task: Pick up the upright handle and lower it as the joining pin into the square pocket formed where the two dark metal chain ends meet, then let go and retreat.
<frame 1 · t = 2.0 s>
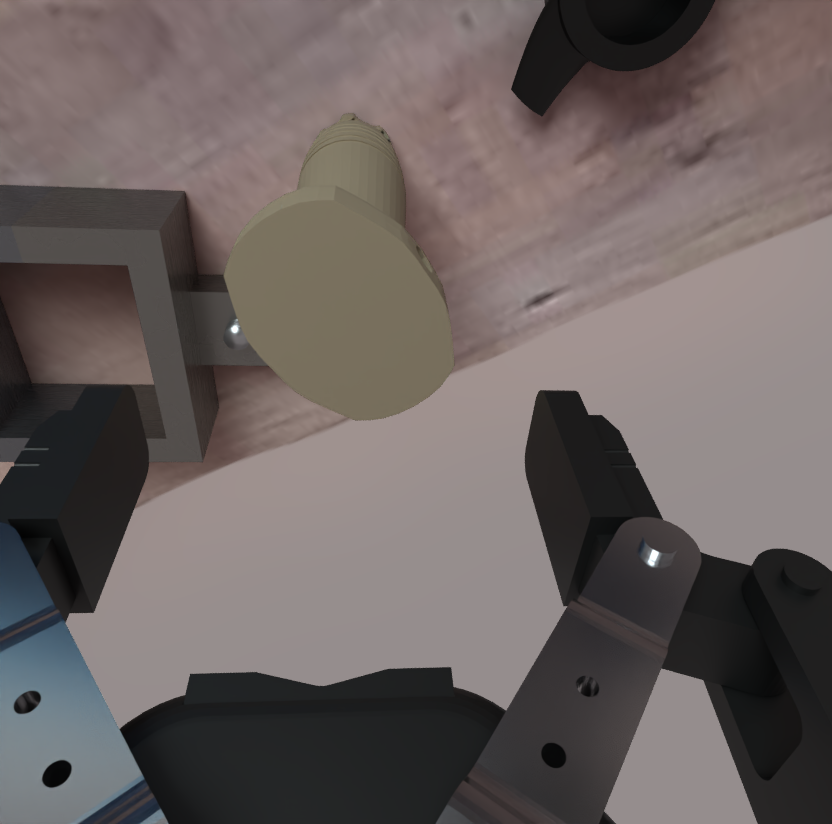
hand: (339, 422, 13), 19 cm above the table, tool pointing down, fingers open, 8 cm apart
chain end a: (89, 309, 32), on the table
handle: (354, 149, 29), on the table
chain end b: (89, 309, 32), on the table
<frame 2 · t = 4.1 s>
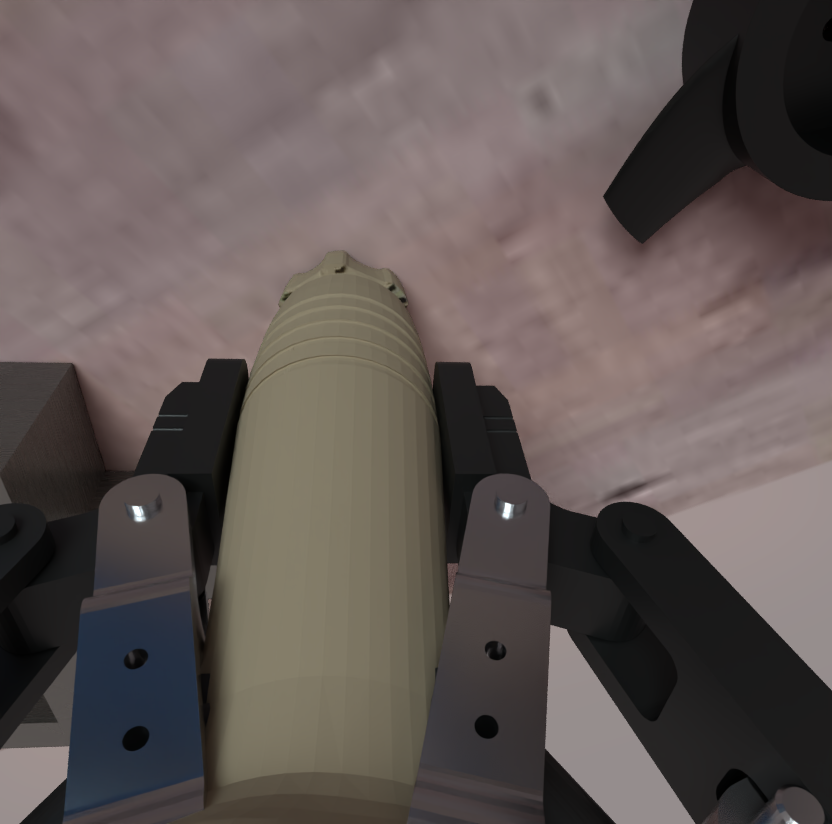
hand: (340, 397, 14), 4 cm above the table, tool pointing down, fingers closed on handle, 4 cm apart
handle: (346, 299, 18), on the table, touching gripper
dark grey winged ring: (806, 22, 14), on the table
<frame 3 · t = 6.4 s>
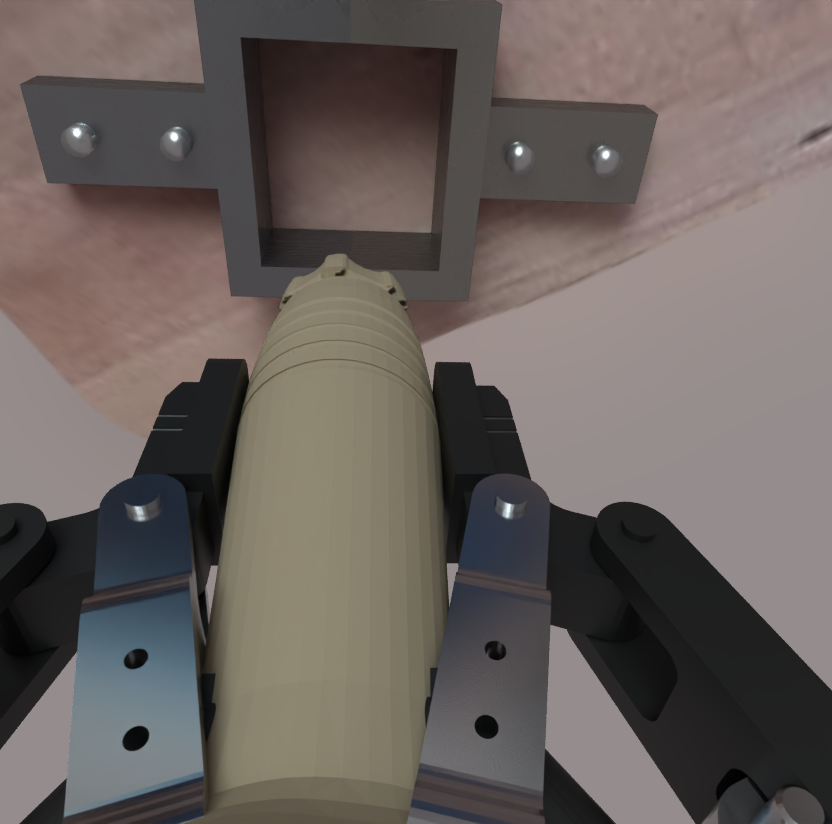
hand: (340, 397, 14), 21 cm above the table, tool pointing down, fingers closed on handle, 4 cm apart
chain end a: (352, 137, 31), on the table
handle: (346, 302, 18), point 16 cm above the table, touching gripper
chain end b: (352, 137, 31), on the table
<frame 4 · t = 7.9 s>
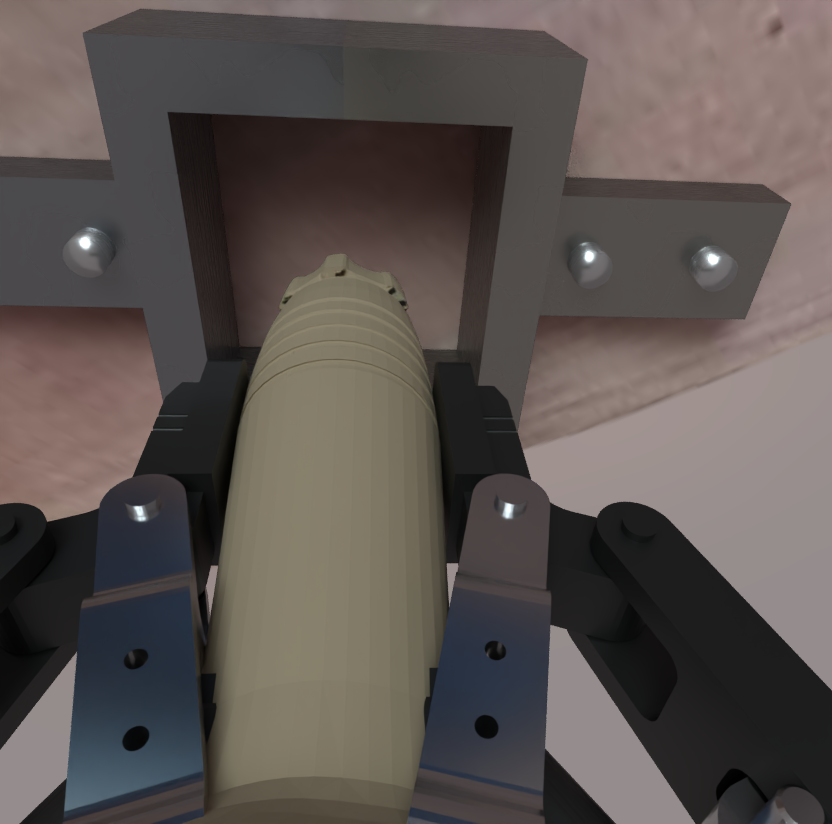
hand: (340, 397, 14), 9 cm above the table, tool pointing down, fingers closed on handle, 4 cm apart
chain end a: (348, 231, 22), on the table
handle: (346, 302, 18), point 5 cm above the table, touching gripper
chain end b: (348, 231, 22), on the table
when the fingers open (6 cm above the table, at t = 8.8 s): handle drops 2 cm, on the table.
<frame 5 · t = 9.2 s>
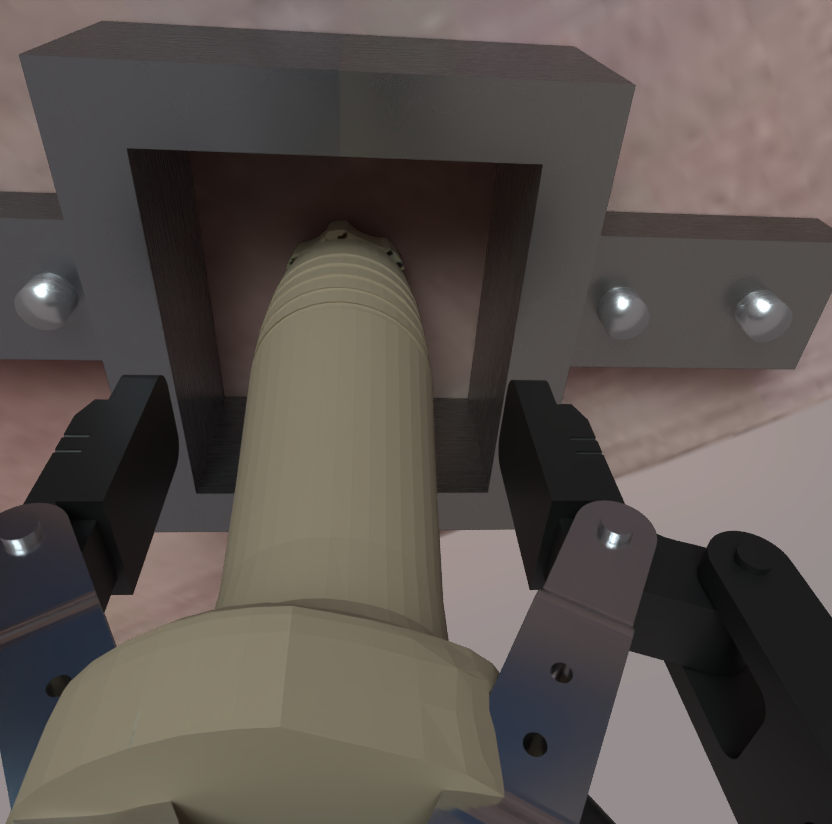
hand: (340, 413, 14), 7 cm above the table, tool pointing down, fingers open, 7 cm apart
chain end a: (347, 271, 19), on the table
handle: (347, 267, 19), on the table
chain end b: (347, 271, 19), on the table
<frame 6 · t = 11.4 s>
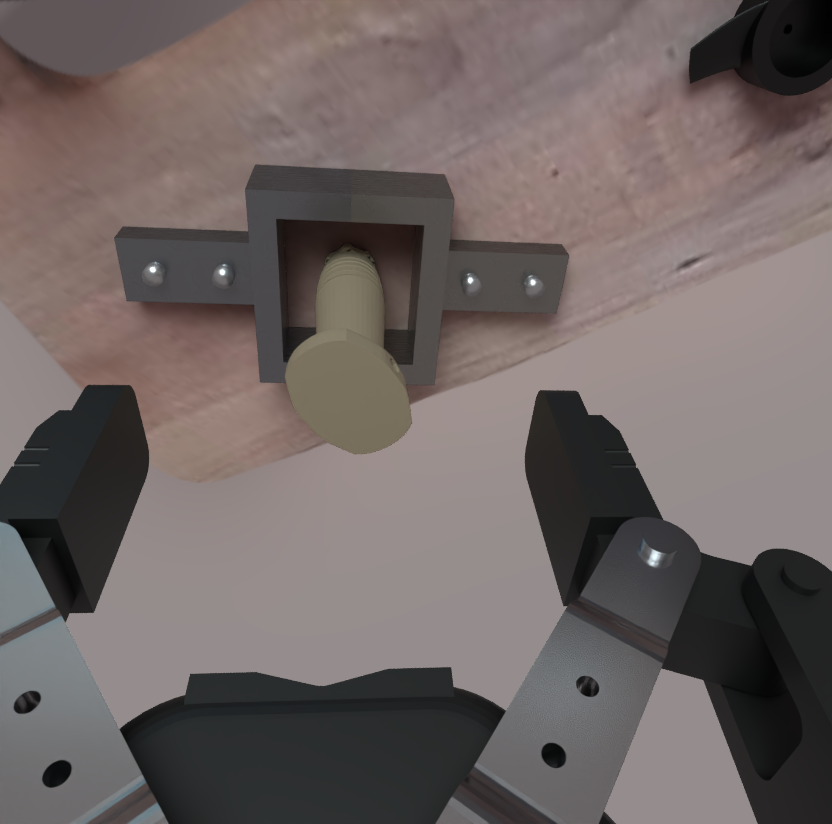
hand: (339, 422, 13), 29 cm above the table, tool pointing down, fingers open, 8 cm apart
chain end a: (349, 266, 42), on the table
handle: (350, 264, 42), on the table
chain end b: (349, 266, 42), on the table
dark grey winged ring: (777, 26, 36), on the table
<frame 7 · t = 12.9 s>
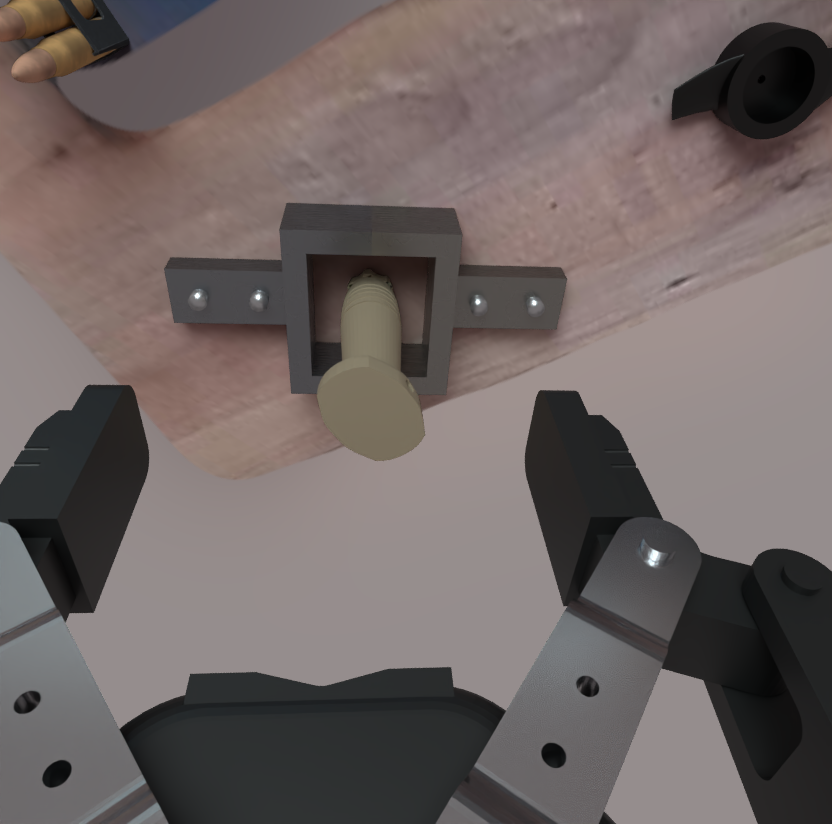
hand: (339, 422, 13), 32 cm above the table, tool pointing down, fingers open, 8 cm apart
chain end a: (370, 288, 47), on the table
handle: (370, 287, 47), on the table
chain end b: (370, 288, 47), on the table
dark grey winged ring: (753, 75, 40), on the table
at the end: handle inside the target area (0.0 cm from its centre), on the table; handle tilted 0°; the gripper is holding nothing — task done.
